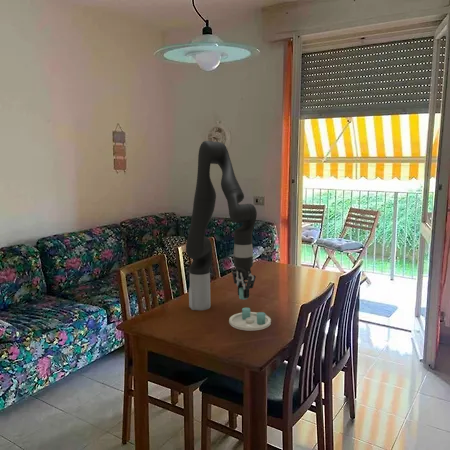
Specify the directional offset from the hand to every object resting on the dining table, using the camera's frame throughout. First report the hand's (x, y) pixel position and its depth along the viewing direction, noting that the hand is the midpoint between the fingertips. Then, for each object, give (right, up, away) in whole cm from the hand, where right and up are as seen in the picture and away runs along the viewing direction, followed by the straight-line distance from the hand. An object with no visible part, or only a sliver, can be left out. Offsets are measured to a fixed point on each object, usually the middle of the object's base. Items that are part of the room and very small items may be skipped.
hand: (243, 296), depth 171 cm
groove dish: (+3, -12, +5) cm, 14 cm away
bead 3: (+7, -12, +4) cm, 14 cm away
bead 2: (+2, -11, +9) cm, 14 cm away
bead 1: (0, -1, 0) cm, 1 cm away
